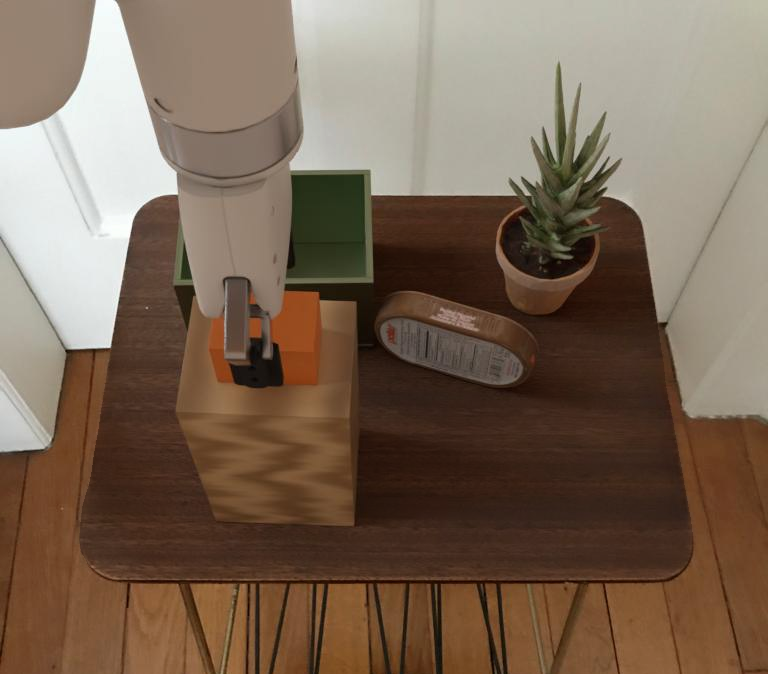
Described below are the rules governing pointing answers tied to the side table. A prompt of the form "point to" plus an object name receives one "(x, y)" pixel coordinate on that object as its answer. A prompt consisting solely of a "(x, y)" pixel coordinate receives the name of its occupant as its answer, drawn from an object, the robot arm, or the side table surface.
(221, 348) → the block
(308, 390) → the wood grain block
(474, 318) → the tin
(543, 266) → the potted plant
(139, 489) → the side table surface
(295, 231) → the trash bin
